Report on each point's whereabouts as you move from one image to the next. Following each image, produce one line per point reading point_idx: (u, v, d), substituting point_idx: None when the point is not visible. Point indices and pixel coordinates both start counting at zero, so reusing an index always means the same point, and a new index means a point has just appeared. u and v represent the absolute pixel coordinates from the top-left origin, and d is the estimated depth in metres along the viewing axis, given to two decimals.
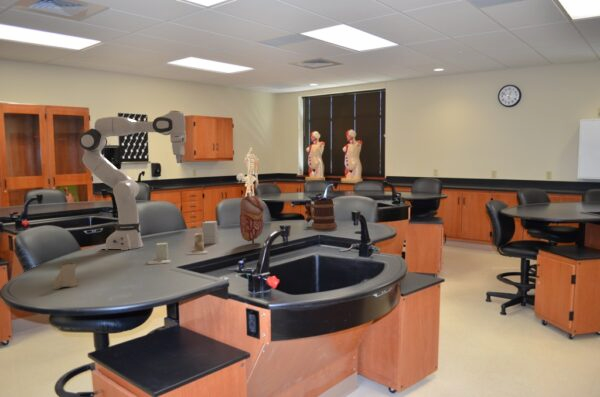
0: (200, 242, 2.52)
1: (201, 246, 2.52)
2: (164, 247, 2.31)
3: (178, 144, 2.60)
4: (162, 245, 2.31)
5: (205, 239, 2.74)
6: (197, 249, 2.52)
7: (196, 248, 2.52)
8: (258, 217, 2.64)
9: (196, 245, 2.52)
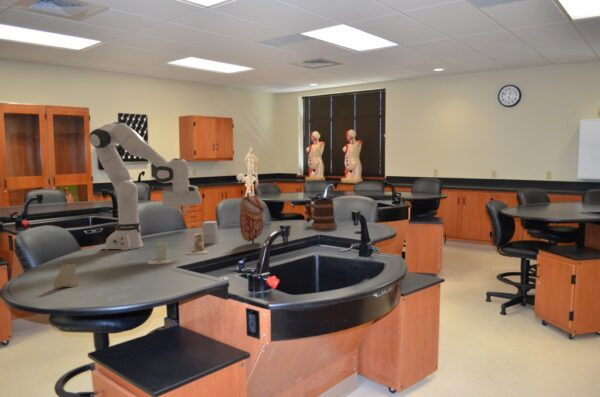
0: (200, 242, 2.52)
1: (201, 246, 2.52)
2: (164, 247, 2.31)
3: (199, 193, 2.54)
4: (162, 245, 2.31)
5: (205, 239, 2.74)
6: (197, 249, 2.52)
7: (196, 248, 2.52)
8: (258, 217, 2.64)
9: (196, 245, 2.52)
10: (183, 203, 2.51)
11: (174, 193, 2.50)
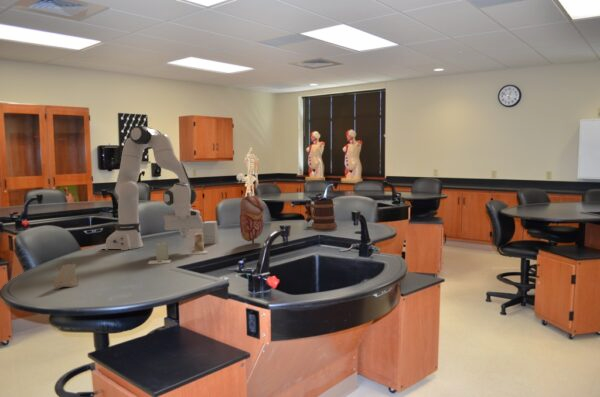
0: (200, 242, 2.52)
1: (201, 246, 2.52)
2: (164, 247, 2.31)
3: (201, 217, 2.56)
4: (162, 245, 2.31)
5: (205, 239, 2.74)
6: (197, 249, 2.52)
7: (196, 248, 2.52)
8: (258, 217, 2.64)
9: (196, 245, 2.52)
10: (185, 227, 2.52)
11: (176, 217, 2.51)
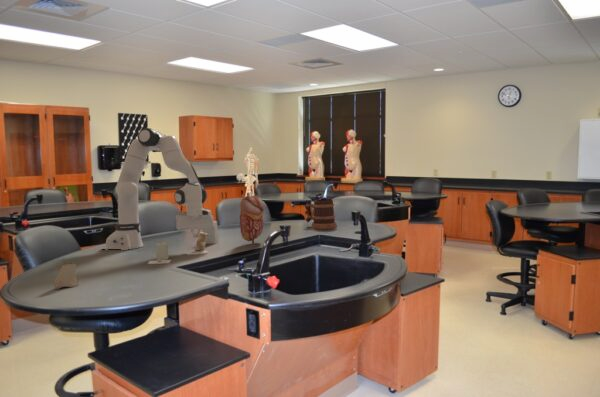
0: (203, 242, 2.52)
1: (202, 246, 2.52)
2: (164, 247, 2.31)
3: (212, 217, 2.56)
4: (162, 245, 2.31)
5: None
6: (198, 247, 2.52)
7: (197, 246, 2.52)
8: (258, 217, 2.64)
9: (198, 243, 2.52)
10: (196, 227, 2.52)
11: (187, 217, 2.52)
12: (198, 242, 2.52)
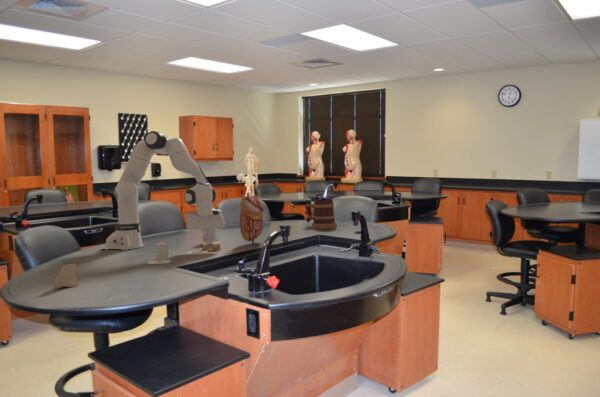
0: (211, 249, 2.53)
1: (207, 250, 2.53)
2: (164, 247, 2.31)
3: None
4: (162, 245, 2.31)
5: (205, 239, 2.74)
6: (204, 246, 2.52)
7: (205, 245, 2.52)
8: (258, 217, 2.64)
9: (208, 245, 2.52)
10: (207, 226, 2.53)
11: (198, 216, 2.52)
12: (210, 245, 2.53)
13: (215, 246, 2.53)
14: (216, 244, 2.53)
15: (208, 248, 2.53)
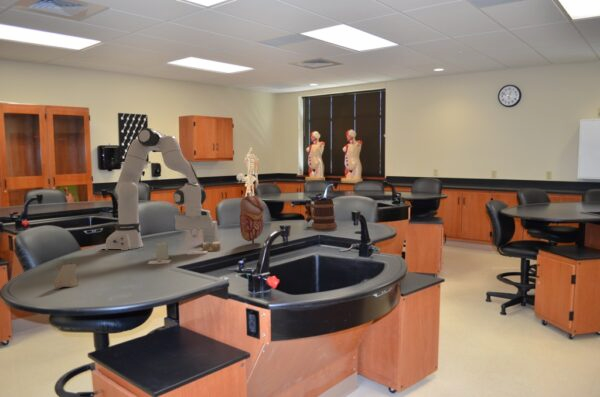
0: (211, 249, 2.53)
1: (207, 250, 2.53)
2: (164, 247, 2.31)
3: (211, 217, 2.56)
4: (162, 245, 2.31)
5: (205, 239, 2.74)
6: (205, 246, 2.52)
7: (205, 245, 2.52)
8: (258, 217, 2.64)
9: (208, 245, 2.52)
10: (195, 227, 2.52)
11: (186, 217, 2.51)
12: (210, 245, 2.53)
13: (215, 246, 2.53)
14: (216, 244, 2.53)
15: (208, 248, 2.53)
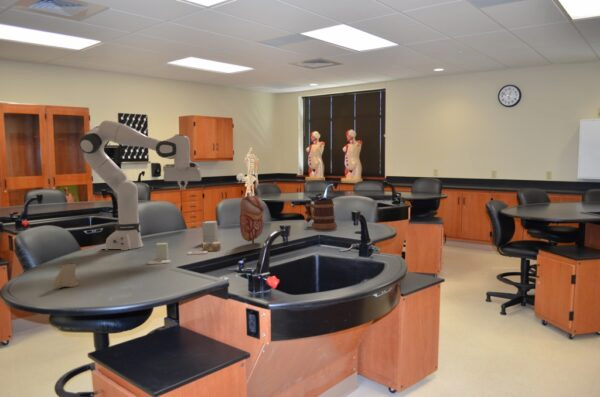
0: (211, 249, 2.53)
1: (207, 250, 2.53)
2: (164, 247, 2.31)
3: None
4: (162, 245, 2.31)
5: (205, 239, 2.74)
6: (205, 246, 2.52)
7: (205, 245, 2.52)
8: (258, 217, 2.64)
9: (208, 245, 2.53)
10: (183, 179, 2.55)
11: (175, 168, 2.54)
12: (210, 245, 2.53)
13: (215, 246, 2.53)
14: (216, 244, 2.53)
15: (208, 248, 2.53)
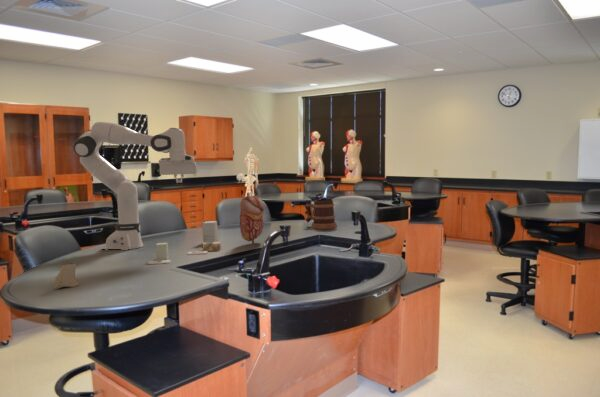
0: (212, 249, 2.53)
1: (207, 250, 2.53)
2: (164, 247, 2.31)
3: (195, 163, 2.59)
4: (162, 245, 2.31)
5: (205, 239, 2.74)
6: (205, 246, 2.52)
7: (205, 245, 2.52)
8: (258, 217, 2.64)
9: (208, 245, 2.52)
10: (179, 172, 2.55)
11: (171, 162, 2.54)
12: (210, 245, 2.53)
13: (215, 246, 2.53)
14: (216, 244, 2.53)
15: (208, 248, 2.53)
